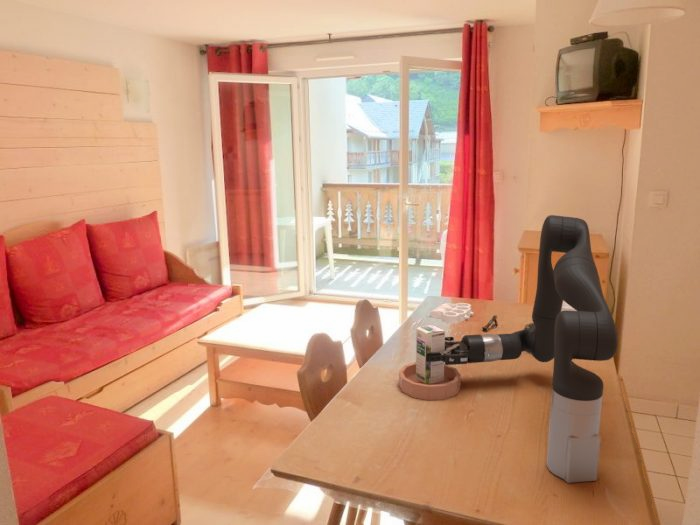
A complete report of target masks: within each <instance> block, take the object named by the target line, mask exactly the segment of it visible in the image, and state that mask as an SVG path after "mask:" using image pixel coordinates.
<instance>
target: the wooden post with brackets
mask: <svg viewBox="0 0 700 525" xmlns="http://www.w3.org/2000/svg"><path fill="white" fill-rule="evenodd" d="M497 319H498V315H497V314H495V315H493V316H492V318H491V319H490V320H489V321H488V322H487V324H486V325H485V326H481V328H482V331H483V332H488V329H489V328H491V329H494V328H496V326H498V325H499V322H498V320H497Z"/></svg>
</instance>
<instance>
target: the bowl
mask: <svg viewBox="0 0 700 525" xmlns="http://www.w3.org/2000/svg"><path fill="white" fill-rule="evenodd" d="M398 385H399V387H400V390H401V392H402V393H404V394H405V395H408V396H410V397H412V398H413V399H420V400H425V401H440V400H442V401H443V400H446V399H447V400H448V399H449V398H451V397H455V396H456V395H458V393H459V392H460V389H461V373H460V372H459V370H458V369H457V368H455V367H454V366H452V365H445V363H444V380H443V381H440V382H437V383H433V384H429V385H427V384H426V383H424V382H422V381H421V380H419V379H417V378H416V361H414V362H412V363H409V364H406V365H405V364H404V365H403V366H402V368H401V369H400V370H399V372H398Z"/></svg>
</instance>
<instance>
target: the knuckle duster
mask: <svg viewBox="0 0 700 525" xmlns="http://www.w3.org/2000/svg"><path fill="white" fill-rule="evenodd" d="M472 315H475V313H474V312H473V311H472V304H470V303H467V302H466V303H465V302H457V303H448V302H446V303H442V304H440V305H439V306H437V307H435V309H433V310H431V311H430V312H429V316H430V317H431V318H434V319H441V320H442V322H443V323H445V322H446V324H450V323H451V325H454V324H453V323H455V324H458V323H459V322H463V321H466V320H468V319H470V318H471V316H472Z"/></svg>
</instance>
